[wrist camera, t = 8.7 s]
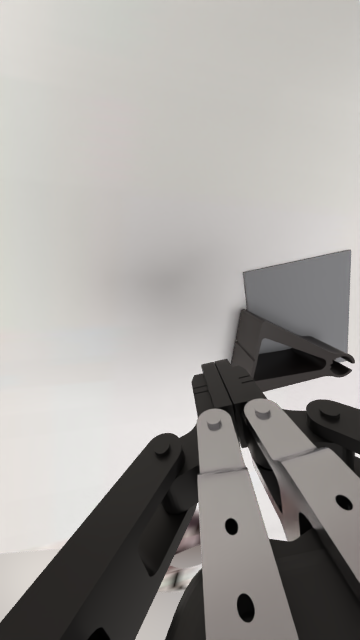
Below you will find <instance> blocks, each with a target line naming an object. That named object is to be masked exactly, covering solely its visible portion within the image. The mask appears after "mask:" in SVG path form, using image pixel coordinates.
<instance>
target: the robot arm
mask: <svg viewBox="0 0 360 640" xmlns="http://www.w3.org/2000/svg"><path fill="white" fill-rule="evenodd" d="M201 367H202V371H203V374H199V375H194V377H193V380H192V387H193V393H194V398H195V404H196V409H197V415H198V419H197V423H196V426H195V427H194V428H193V429H192V430H191V431H190V432H189V433H187V434H186V435H184V436H182V437H180V438H178V437H177V436H176V435H174V434H172V433H164V434H160V435H158V436H156V437H155V438H153V439H152V440H151V441H150V442H149V443H148V445H147V446H146V447H145V448H144V449H143V451H142V452H141V453H140V454H139V456H138V457H137V458H136V459H135V460H134V462H133V463H132V464H131V465H130V466H129V468H128V469H127V470H126V471H125V472H124V474H123V475H122V476H121V477H120V479H119V480H118V481H117V482H116V483H115V485H114V486H113V487H112V488H111V489H110V491H109V492H108V493H107V494H106V495H105V497H104V498H103V499H102V500H101V502H100V503H99V504H98V505H97V506H96V508H95V509H94V510H93V511H92V512H91V514H90V515H89V516H88V517H87V518H86V520H85V521H84V522H83V523H82V524H81V526H80V527H79V528H78V529H77V531H76V532H75V533H74V534H73V535H72V537H71V538H70V539H69V540H68V541H67V543H66V544H65V545H64V546H63V547H62V549H61V550H60V551H59V552H58V554H57V555H56V556H55V557H54V558H53V560H52V561H51V562H50V563H49V564H48V566H47V567H46V568H45V569H44V570H43V572H42V573H41V574H40V575H39V577H38V578H37V579H36V580H35V581H34V583H33V584H32V585H31V586H30V587H29V589H28V590H27V591H26V592H25V593H24V595H23V596H22V597H21V598H20V600H19V601H18V602H17V603H16V604H15V606H14V607H13V608H12V609H11V610H10V612H9V613H8V614H7V615H6V616H5V618H4V619H3V620H2V621H1V623H0V640H135V638H136V636H137V634H138V631H139V629H140V627H141V625H142V623H143V621H144V619H145V617H146V614H147V612H148V610H149V608H150V606H151V604H152V602H153V599H154V597H155V595H156V593H157V591H158V589H159V587H160V585H161V582H162V580H163V578H164V576H165V574H166V572H167V570H168V567H169V565H170V563H171V561H172V559H173V557H174V555H175V553H176V550H177V548H178V546H179V544H180V542H181V540H182V538H183V535H184V533H185V531H186V529H187V527H188V525H189V523H190V521H191V518H192V516H193V514H194V512H195V509H196V506H197V503H198V502H199V519H200V537H201V556H202V569H200V570H199V572H198V573H197V574H196V575H195V576H194V578H193V579H192V580H191V582H190V584H189V585H188V587H187V588H186V590H185V592H184V594H183V596H182V598H181V600H180V602H179V604H178V607H177V609H176V612H175V614H174V617H173V620H172V622H171V625H170V628H169V630H168V633H167V636H166V639H165V640H360V458H358V457H356V456H355V453H358V454H360V409H356V408H353V407H350V406H347V405H344V404H341V403H338V402H334V401H330V400H315V401H312V402H310V403H309V404H308V405H307V407H306V411H292V410H284V409H281V408H280V406H279V405H278V404H276V403H275V402H273V401H271V400H268V399H267V398H266V397H265V395H264V394H263V393H262V391H261V390H260V388H259V387H258V386H257V384H256V383H255V381H254V380H253V379H252V377H251V376H250V374H249V373H248V372H247V370H246V369H244V368H243V367H241V366H239V365H238V366H233V367H232V366H231V364H230V363H229V361H228V359H224V360H219V361H215V362H211V363H207V364H202V365H201ZM239 442H240V443H239ZM240 444H241V447H242V448H245V447H248V448H249V450H250V453H251V456H252V462H253V466H254V468H255V470H256V472H257V474H258V476H259V478H260V480H261V482H262V484H263V486H264V488H265V490H266V492H267V494H268V496H269V498H270V500H271V502H272V505H273V507H274V509H275V511H276V513H277V515H278V517H279V519H280V521H281V524H282V526H283V529H284V532H285V535H286V538H287V541H281V540H273V539H269V538H268V535H267V531H266V528H265V525H264V521H263V518H262V515H261V511H260V508H259V505H258V501H257V498H256V494H255V491H254V488H253V484H252V481H251V478H250V475H249V472H248V469H247V467H246V466H245V463H244V460H243V456H242V453H241V450H240Z"/></svg>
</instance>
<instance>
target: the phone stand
mask: <svg viewBox="0 0 360 640" xmlns="http://www.w3.org/2000/svg"><path fill="white" fill-rule="evenodd" d="M264 338H267V339H270V340H272V341H275V342H278V343H281V344H284V345H286V346H289V347H292V348H291V349H286V350H281V351H275V352H269V353H263V354H259V351H260V346H261V342H262V340H263V339H264ZM236 340H237V341H236V342H235V347H234V353H233V358H232V363H231V366H232V367H233V366H238V365H239V366H241V367H243V368H244V369H246V370H247V372H248V373H249V374H250V376H251V377H252V379H253V380H254V381H255V383H256V384H257V386H258V387H259V388H260V390H261V391H262V392H265V391H268V390H272V389H276V388H280V387H284V386H288V385H292V384H296V383H300V382H304V381H308V380H312V379H315V378H319V377H324V376H334V377H344V376H346V375H348V374H349V373H350V372H351V371H352V370H351V369H349V368H347V367H346V366H344V365H342V364H340V363H339V362H337V361H335V360H336V358H339V357H341V358H343V359H345V360H347V361H349V362H350V363H355V360H354V358H353V357H352V356H351V355H349V354H347V353H345V352H343V351H341V350H339V349H337V348H335V347H333V346H331V345H328V344H326V343H324V342H322V341H320V340H318V339H316V338H314V337H312V336H299V335H296V334H294V333H292V332H290V331H288V330H286V329H284V328H282V327H280V326H278V325H276V324H274V323H272V322H270V321H268V320H266V319H264V318H262V317H260V316H258V315H256V314H254V313H252V312H250V311H247V310H245V309H243V310H242V311H241V316H240V321H239V326H238V331H237V337H236Z"/></svg>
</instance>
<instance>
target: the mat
mask: <svg viewBox="0 0 360 640" xmlns="http://www.w3.org/2000/svg"><path fill="white" fill-rule="evenodd" d="M350 267H351V250H347V251H342V252H337V253H332V254H328V255H323V256H318V257H314V258H309V259H304V260H300V261H295V262H290V263H286V264H281V265H276V266H271V267H267V268H262V269H257V270H253V271H248V272H243V275H244V284H245V293H246V302H247V311H250V312H252V313H254V314H256V315H258V316H260V317H262V318H264V319H266V320H268V321H270V322H272V323H274V324H276V325H278V326H280V327H282V328H284V329H286V330H288V331H290V332H292V333H294V334H296V335H299V336H312V337H314V338H316V339H318V340H320V341H322V342H324V343H326V344H328V345H331V346H333V347H335V348H337V349H339V350H341V351H343V352H345V353H347V352H348V323H349V295H350ZM291 348H292V347H289V346H286V345H284V344H281V343H278V342H275V341H272V340H270V339H267V338H264V339H263V340H262V342H261V346H260V351H259V354H263V353H269V352H275V351H281V350H286V349H291ZM335 361H337V362H344V361H347V360H345V359H343V358H341V357H339V358H336V360H335Z"/></svg>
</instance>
